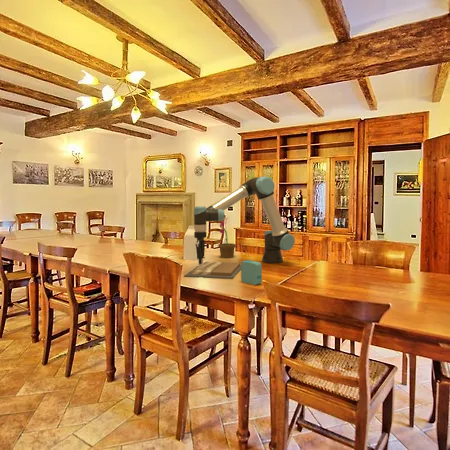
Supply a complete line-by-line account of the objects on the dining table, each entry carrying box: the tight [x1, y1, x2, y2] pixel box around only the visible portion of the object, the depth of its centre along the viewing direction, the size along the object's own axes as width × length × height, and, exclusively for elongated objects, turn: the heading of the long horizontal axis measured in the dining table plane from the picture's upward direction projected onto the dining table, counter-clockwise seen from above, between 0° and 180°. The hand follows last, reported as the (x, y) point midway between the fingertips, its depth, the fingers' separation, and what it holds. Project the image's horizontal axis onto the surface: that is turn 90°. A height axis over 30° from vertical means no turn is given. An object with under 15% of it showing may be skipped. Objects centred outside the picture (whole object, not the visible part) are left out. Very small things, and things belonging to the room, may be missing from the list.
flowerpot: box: [217, 220, 237, 259], centre depth 266 cm, size 14×14×30 cm
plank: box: [192, 261, 223, 275], centre depth 217 cm, size 12×30×2 cm, turn 167°
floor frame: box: [184, 262, 241, 280], centre depth 216 cm, size 30×35×3 cm
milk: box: [183, 225, 198, 261], centre depth 261 cm, size 12×12×26 cm
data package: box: [240, 259, 263, 286], centre depth 186 cm, size 12×4×12 cm, turn 41°
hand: (201, 268), depth 209 cm, fingers closed
